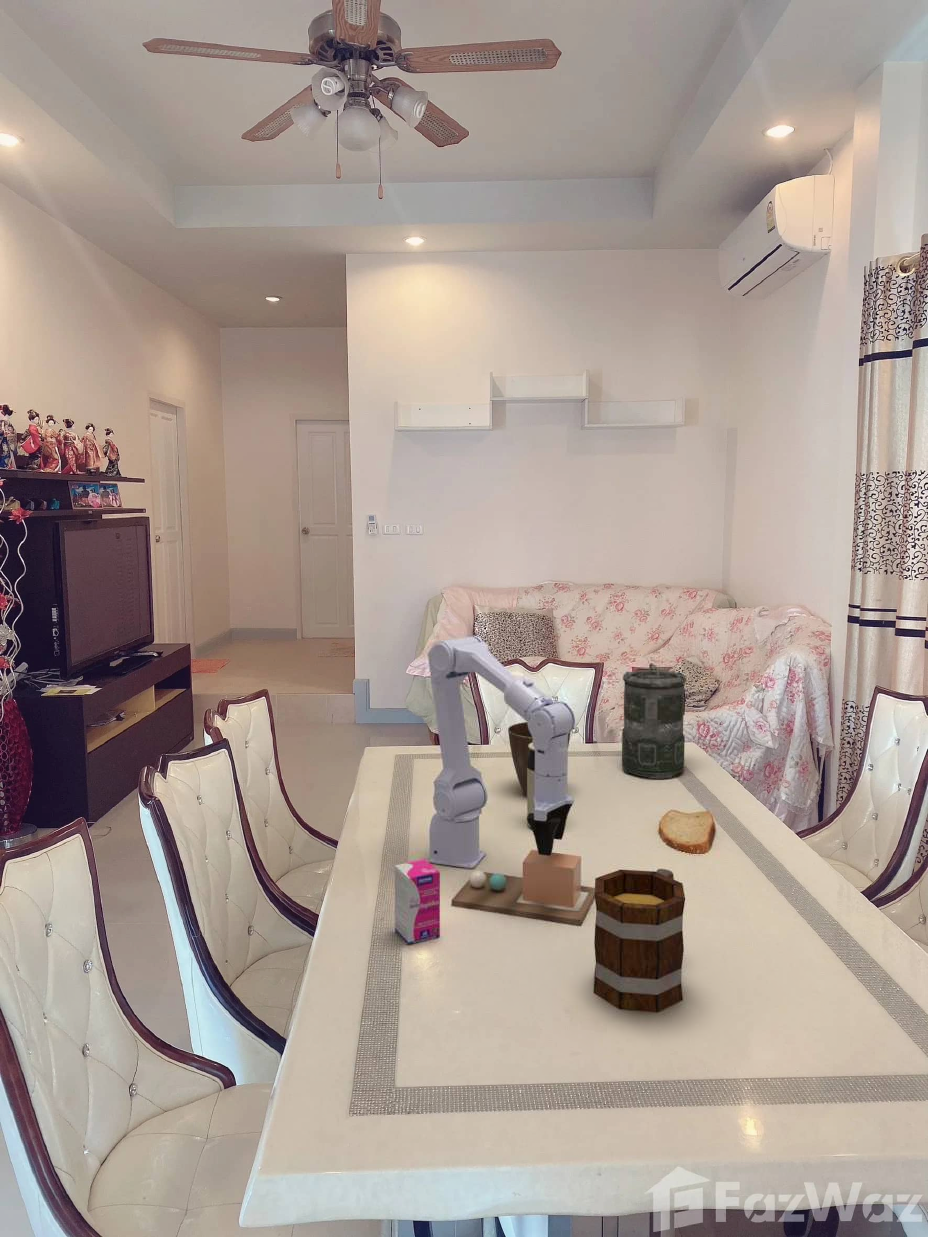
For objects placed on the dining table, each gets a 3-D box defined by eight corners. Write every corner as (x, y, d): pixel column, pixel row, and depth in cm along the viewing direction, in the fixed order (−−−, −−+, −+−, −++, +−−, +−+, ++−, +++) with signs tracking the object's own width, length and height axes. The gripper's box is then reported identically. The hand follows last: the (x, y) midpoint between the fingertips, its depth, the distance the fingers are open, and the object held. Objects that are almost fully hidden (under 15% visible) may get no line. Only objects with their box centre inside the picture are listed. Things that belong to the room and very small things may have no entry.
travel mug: (522, 829, 191) (522, 748, 188) (533, 817, 198) (533, 738, 196) (558, 834, 188) (558, 751, 185) (568, 821, 195) (568, 742, 193)
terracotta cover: (522, 900, 154) (522, 861, 153) (531, 887, 160) (531, 849, 159) (573, 907, 151) (573, 868, 150) (580, 894, 156) (581, 856, 156)
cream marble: (467, 889, 159) (467, 873, 159) (472, 882, 162) (472, 866, 162) (483, 891, 158) (482, 875, 158) (488, 884, 161) (488, 869, 161)
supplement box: (408, 946, 141) (407, 877, 140) (394, 931, 146) (392, 864, 145) (441, 938, 144) (440, 870, 142) (426, 923, 149) (424, 857, 147)
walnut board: (451, 905, 155) (451, 899, 155) (476, 876, 167) (476, 870, 167) (580, 926, 147) (580, 919, 147) (597, 893, 159) (597, 887, 159)
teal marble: (487, 892, 158) (487, 876, 158) (492, 885, 161) (492, 869, 160) (503, 894, 157) (503, 878, 157) (508, 887, 160) (508, 871, 159)
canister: (614, 763, 238) (615, 660, 234) (671, 760, 240) (673, 658, 236) (631, 781, 222) (633, 671, 219) (693, 778, 224) (695, 669, 220)
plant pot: (580, 790, 216) (581, 726, 214) (553, 808, 204) (553, 740, 201) (526, 780, 224) (526, 718, 222) (496, 797, 212) (496, 732, 209)
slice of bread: (693, 860, 175) (694, 841, 174) (630, 831, 190) (630, 815, 189) (754, 840, 184) (755, 823, 184) (689, 815, 199) (690, 799, 199)
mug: (666, 1024, 119) (668, 918, 118) (575, 995, 127) (575, 895, 125) (710, 960, 136) (712, 866, 134) (626, 938, 143) (628, 849, 141)
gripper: (563, 787, 147) (562, 865, 149) (583, 762, 161) (582, 834, 162) (522, 782, 150) (522, 859, 152) (545, 759, 163) (545, 829, 165)
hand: (550, 846), depth 157 cm, fingers open, 7 cm apart
